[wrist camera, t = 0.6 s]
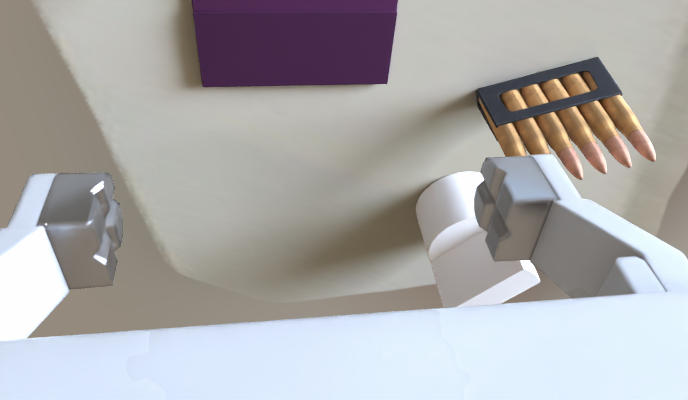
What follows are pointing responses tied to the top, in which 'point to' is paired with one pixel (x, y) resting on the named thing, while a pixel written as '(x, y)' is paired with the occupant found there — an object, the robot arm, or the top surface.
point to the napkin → (294, 41)
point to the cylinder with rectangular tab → (465, 247)
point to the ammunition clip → (564, 116)
